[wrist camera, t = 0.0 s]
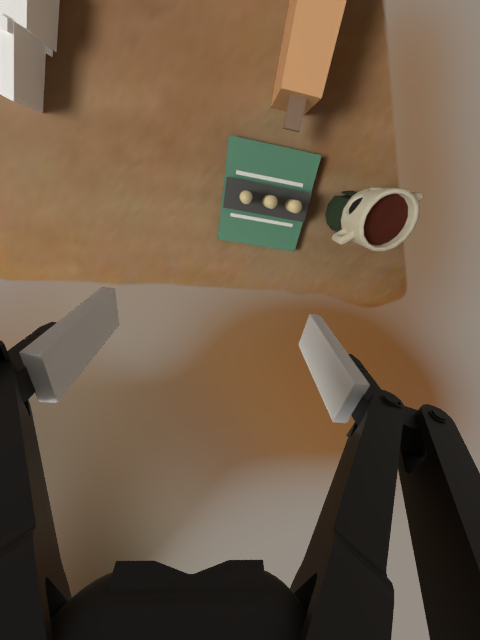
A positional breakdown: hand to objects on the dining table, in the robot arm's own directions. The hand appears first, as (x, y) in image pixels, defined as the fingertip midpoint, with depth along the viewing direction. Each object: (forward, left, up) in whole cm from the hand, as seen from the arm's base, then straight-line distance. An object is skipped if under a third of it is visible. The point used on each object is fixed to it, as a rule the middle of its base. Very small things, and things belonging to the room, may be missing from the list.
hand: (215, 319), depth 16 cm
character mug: (-8, +19, -28) cm, 35 cm away
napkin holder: (-18, -24, -29) cm, 42 cm away
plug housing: (-23, +7, -28) cm, 37 cm away
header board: (-7, +6, -28) cm, 30 cm away
